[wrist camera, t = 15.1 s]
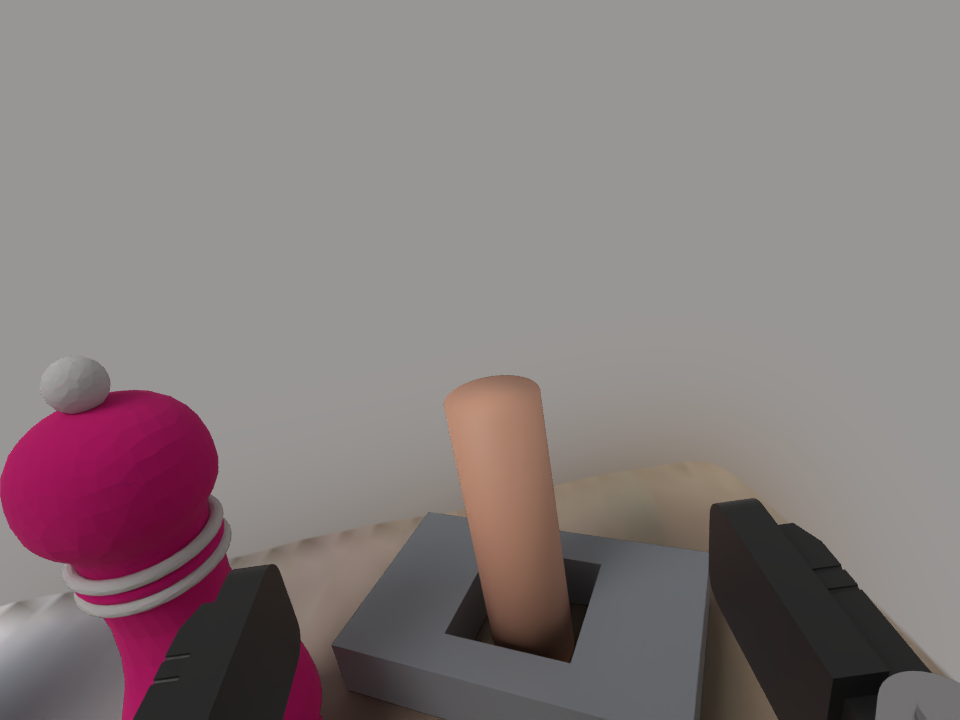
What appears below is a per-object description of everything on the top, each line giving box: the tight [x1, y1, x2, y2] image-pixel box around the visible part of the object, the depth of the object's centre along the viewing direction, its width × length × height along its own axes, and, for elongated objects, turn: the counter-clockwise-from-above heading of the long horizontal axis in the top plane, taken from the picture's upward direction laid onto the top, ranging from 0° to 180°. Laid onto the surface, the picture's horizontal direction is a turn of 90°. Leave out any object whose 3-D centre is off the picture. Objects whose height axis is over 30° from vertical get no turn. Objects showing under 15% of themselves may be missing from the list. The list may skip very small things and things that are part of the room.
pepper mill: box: [0, 356, 322, 720], centre depth 22 cm, size 7×7×20 cm
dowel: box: [444, 375, 575, 663], centre depth 27 cm, size 4×4×14 cm
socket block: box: [332, 512, 710, 720], centre depth 29 cm, size 16×10×3 cm, turn 67°
